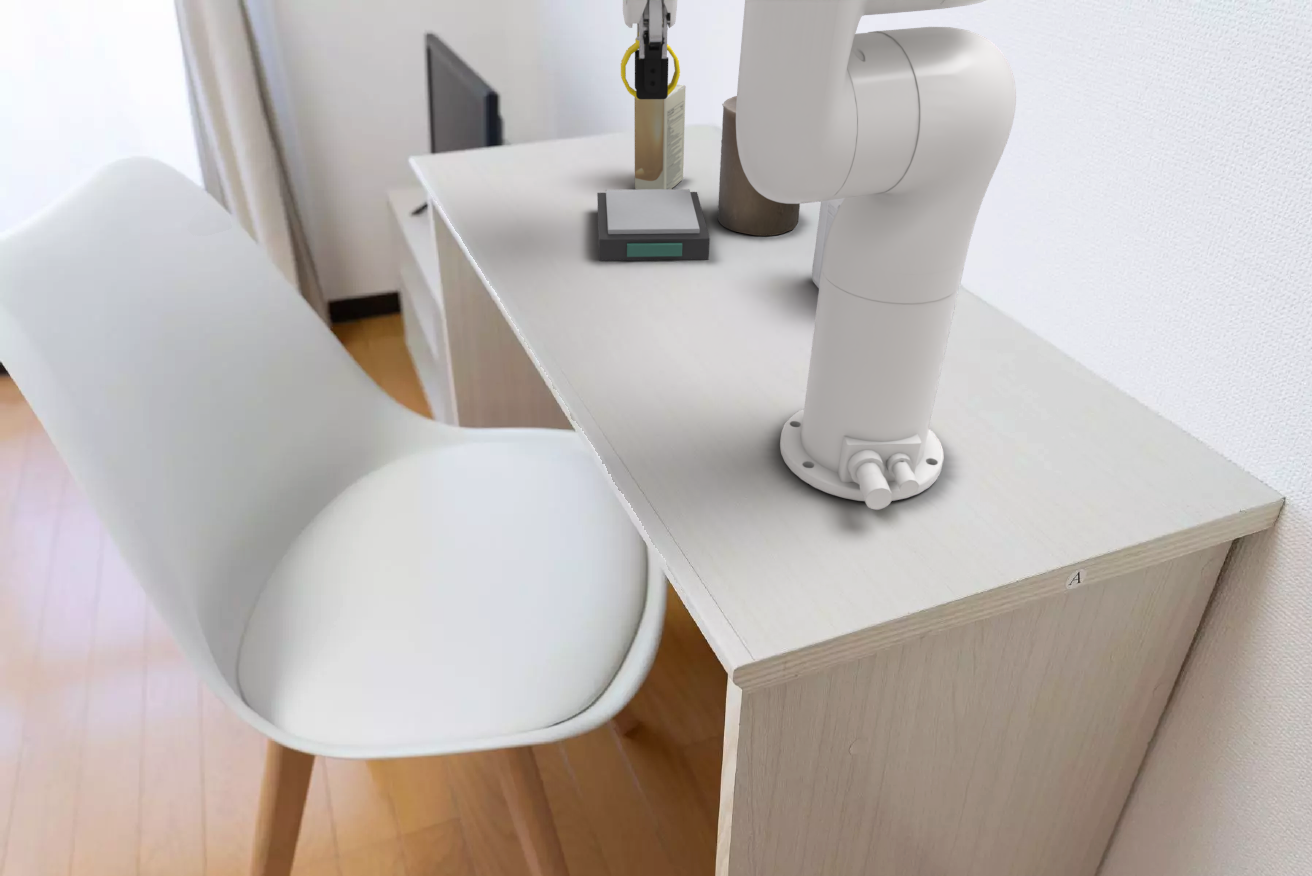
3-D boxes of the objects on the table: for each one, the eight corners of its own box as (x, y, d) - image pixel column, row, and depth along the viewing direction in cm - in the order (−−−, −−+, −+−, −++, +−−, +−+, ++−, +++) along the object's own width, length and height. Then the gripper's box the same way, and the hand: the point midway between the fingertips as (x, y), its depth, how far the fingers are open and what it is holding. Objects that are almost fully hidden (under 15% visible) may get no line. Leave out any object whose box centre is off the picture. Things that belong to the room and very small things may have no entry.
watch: (676, 93, 102) (678, 33, 99) (680, 101, 100) (682, 40, 96) (620, 94, 101) (619, 34, 98) (623, 102, 99) (622, 41, 96)
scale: (709, 261, 106) (710, 234, 104) (599, 262, 105) (599, 235, 103) (696, 211, 118) (697, 186, 116) (597, 212, 117) (597, 187, 115)
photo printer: (888, 319, 95) (909, 198, 88) (849, 324, 94) (867, 203, 87) (842, 275, 103) (858, 162, 96) (805, 280, 102) (818, 165, 95)
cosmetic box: (654, 174, 128) (656, 79, 121) (684, 180, 126) (687, 84, 119) (632, 190, 123) (632, 92, 116) (663, 196, 122) (665, 97, 115)
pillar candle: (807, 234, 112) (822, 103, 104) (725, 238, 111) (733, 106, 102) (785, 203, 120) (797, 79, 112) (708, 207, 119) (715, 81, 110)
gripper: (610, -118, 96) (612, 74, 107) (615, -99, 83) (617, 117, 94) (685, -117, 97) (680, 74, 107) (702, -98, 84) (694, 117, 94)
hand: (650, 92), depth 100 cm, fingers closed on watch, 2 cm apart
